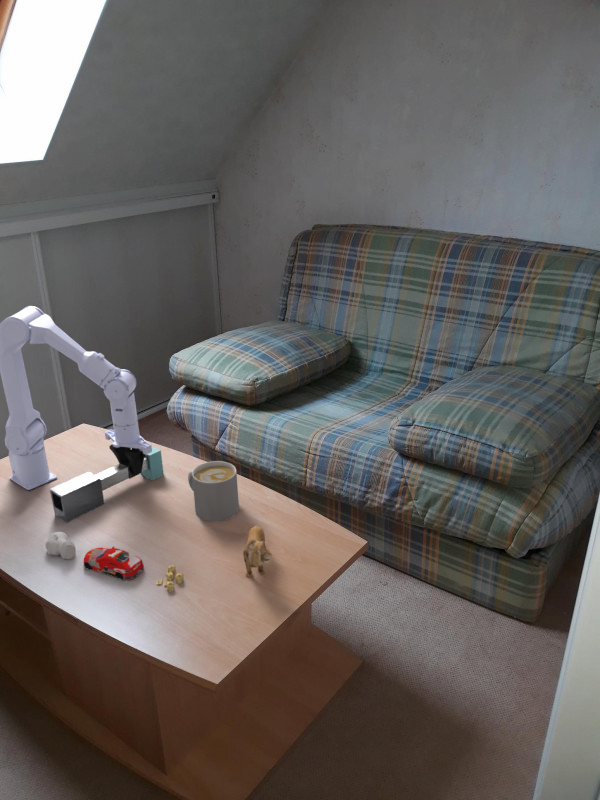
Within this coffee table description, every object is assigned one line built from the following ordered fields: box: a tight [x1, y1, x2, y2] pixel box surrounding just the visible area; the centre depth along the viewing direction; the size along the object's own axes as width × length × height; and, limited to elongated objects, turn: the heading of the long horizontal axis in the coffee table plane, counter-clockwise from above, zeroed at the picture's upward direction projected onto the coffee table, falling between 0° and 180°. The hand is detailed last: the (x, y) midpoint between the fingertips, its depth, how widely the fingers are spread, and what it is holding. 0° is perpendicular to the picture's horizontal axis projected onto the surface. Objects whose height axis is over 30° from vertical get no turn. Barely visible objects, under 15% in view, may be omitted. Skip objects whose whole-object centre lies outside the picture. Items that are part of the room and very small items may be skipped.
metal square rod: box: [95, 456, 150, 492], centre depth 158 cm, size 3×20×3 cm, turn 140°
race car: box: [82, 546, 145, 581], centre depth 132 cm, size 13×5×4 cm, turn 64°
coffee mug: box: [187, 460, 240, 523], centre depth 151 cm, size 13×10×10 cm
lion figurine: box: [242, 525, 273, 578], centre depth 131 cm, size 15×5×9 cm, turn 9°
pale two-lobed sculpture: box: [45, 531, 77, 560], centre depth 137 cm, size 4×8×5 cm
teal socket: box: [140, 445, 164, 481], centre depth 165 cm, size 5×4×7 cm
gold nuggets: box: [156, 564, 184, 593], centre depth 129 cm, size 5×5×2 cm
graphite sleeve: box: [49, 471, 105, 524], centre depth 151 cm, size 5×10×7 cm, turn 140°
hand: (132, 471), depth 162 cm, fingers closed on metal square rod, 3 cm apart
